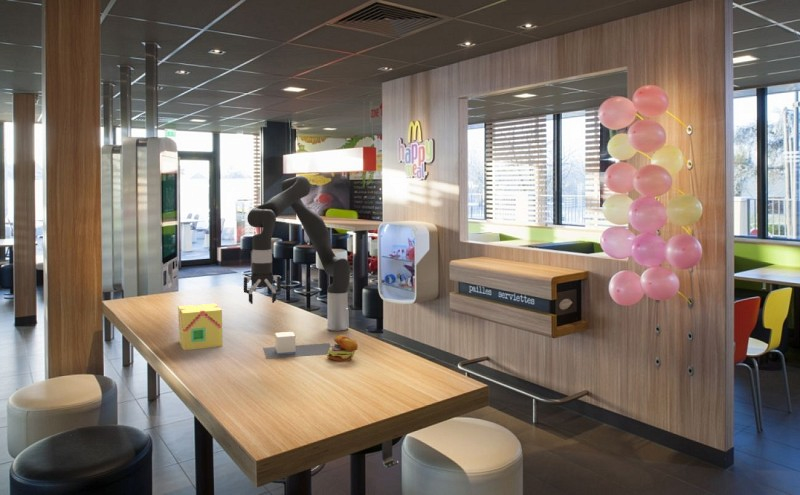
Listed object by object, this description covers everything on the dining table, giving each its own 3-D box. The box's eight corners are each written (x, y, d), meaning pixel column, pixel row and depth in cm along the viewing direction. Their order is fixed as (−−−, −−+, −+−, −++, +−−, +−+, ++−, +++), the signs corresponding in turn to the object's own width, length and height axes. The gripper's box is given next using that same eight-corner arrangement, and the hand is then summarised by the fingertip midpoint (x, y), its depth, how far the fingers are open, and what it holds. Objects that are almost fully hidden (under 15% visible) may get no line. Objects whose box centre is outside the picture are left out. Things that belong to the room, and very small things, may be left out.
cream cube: (293, 348, 234) (292, 331, 234) (295, 353, 228) (295, 335, 227) (275, 350, 232) (275, 332, 231) (277, 354, 225) (277, 337, 225)
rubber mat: (328, 343, 243) (328, 343, 243) (336, 354, 228) (336, 353, 228) (262, 348, 235) (262, 347, 235) (266, 359, 220) (266, 359, 220)
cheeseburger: (326, 354, 227) (332, 330, 227) (353, 360, 228) (359, 336, 228) (325, 361, 217) (332, 336, 217) (353, 368, 218) (359, 342, 218)
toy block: (183, 350, 232) (182, 313, 230) (179, 341, 245) (178, 306, 243) (222, 345, 239) (221, 310, 237) (215, 337, 252) (215, 303, 250)
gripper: (279, 259, 229) (279, 300, 231) (242, 260, 225) (242, 302, 227) (282, 261, 222) (282, 304, 224) (243, 262, 218) (243, 305, 219)
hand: (262, 303), depth 225 cm, fingers open, 7 cm apart
